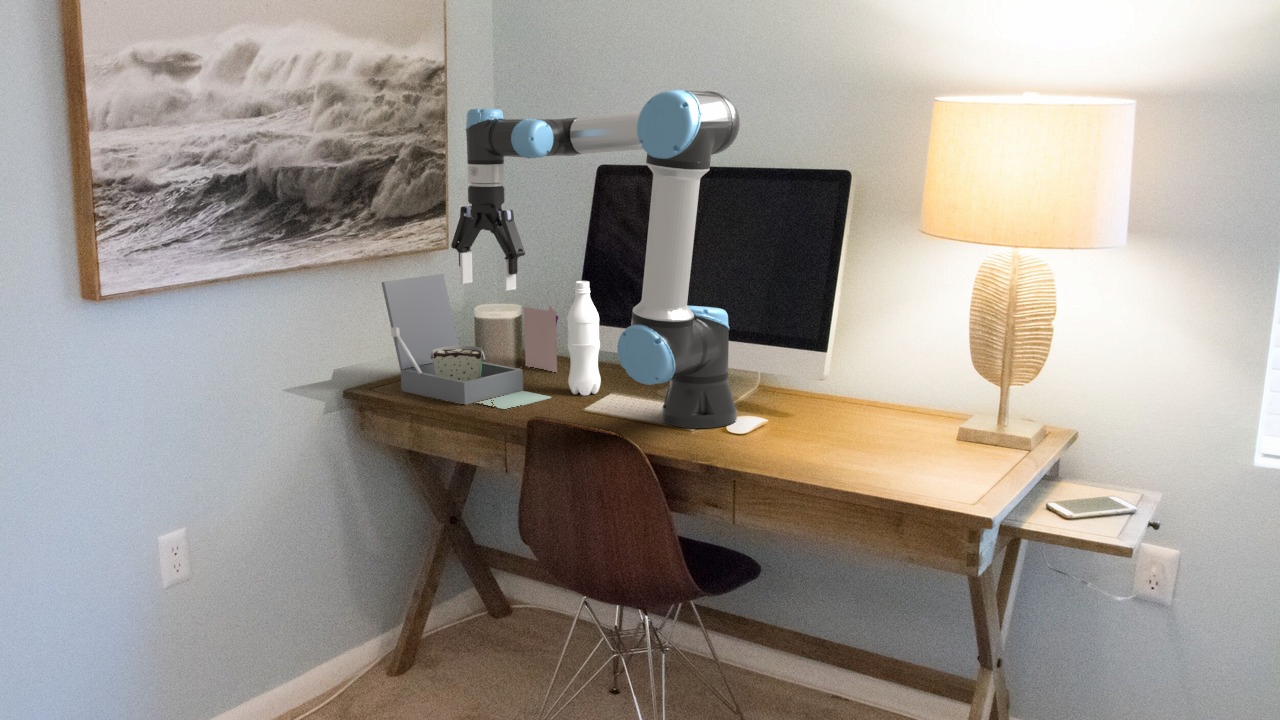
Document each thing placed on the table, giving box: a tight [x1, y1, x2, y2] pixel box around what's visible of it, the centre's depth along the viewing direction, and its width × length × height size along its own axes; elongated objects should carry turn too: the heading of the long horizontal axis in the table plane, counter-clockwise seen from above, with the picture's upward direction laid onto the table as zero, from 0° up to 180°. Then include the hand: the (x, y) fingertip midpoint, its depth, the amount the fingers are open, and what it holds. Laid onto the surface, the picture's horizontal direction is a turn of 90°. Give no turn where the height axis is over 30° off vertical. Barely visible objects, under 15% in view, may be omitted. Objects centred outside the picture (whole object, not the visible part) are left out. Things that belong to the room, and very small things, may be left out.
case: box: [380, 273, 524, 404], centre depth 254 cm, size 27×17×25 cm, turn 49°
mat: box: [474, 390, 552, 410], centre depth 246 cm, size 9×14×1 cm, turn 139°
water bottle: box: [566, 280, 602, 396], centre depth 250 cm, size 7×7×25 cm
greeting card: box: [523, 304, 559, 374], centre depth 276 cm, size 11×7×15 cm, turn 12°
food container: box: [430, 345, 486, 381], centre depth 254 cm, size 12×6×10 cm, turn 84°
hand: (488, 286), depth 239 cm, fingers open, 13 cm apart
